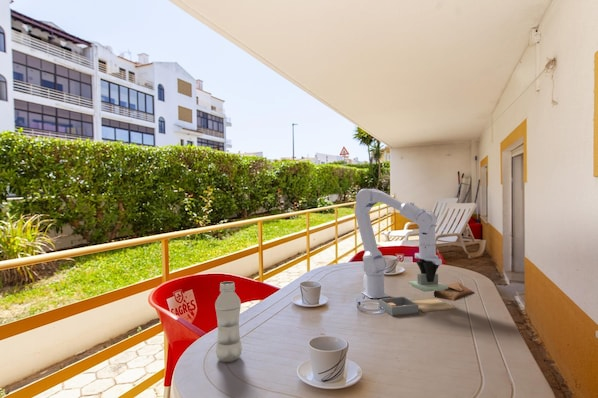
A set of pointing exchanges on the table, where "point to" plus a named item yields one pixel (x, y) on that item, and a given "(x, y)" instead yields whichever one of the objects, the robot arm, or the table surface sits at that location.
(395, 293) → the table surface
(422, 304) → the cork mat
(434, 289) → the lid
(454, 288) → the sunglasses case
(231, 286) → the plastic bottle
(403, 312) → the storage box
